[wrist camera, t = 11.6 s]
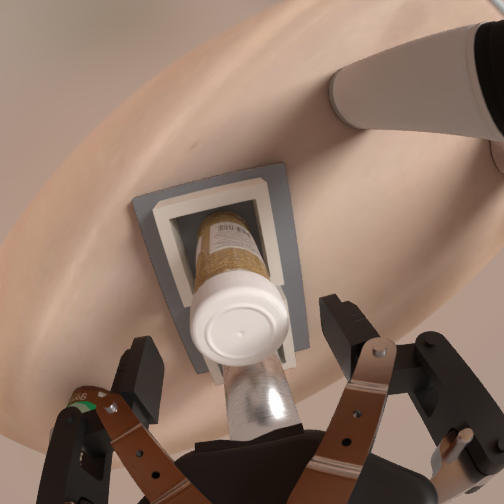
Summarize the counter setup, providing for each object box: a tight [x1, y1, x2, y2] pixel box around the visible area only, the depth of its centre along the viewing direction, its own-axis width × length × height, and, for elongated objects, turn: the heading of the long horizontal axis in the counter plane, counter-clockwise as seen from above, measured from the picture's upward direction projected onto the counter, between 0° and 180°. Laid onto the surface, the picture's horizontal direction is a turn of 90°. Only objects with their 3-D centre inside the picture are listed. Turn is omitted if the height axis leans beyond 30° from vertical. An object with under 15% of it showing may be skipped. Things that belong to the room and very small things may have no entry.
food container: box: [49, 386, 110, 464], centre depth 27 cm, size 12×6×10 cm, turn 132°
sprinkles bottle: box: [190, 211, 289, 366], centre depth 19 cm, size 5×5×13 cm
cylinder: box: [222, 351, 301, 441], centre depth 23 cm, size 5×5×13 cm
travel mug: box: [329, 20, 504, 142], centre depth 14 cm, size 6×7×20 cm
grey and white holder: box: [132, 162, 310, 385], centre depth 26 cm, size 13×20×4 cm, turn 12°
